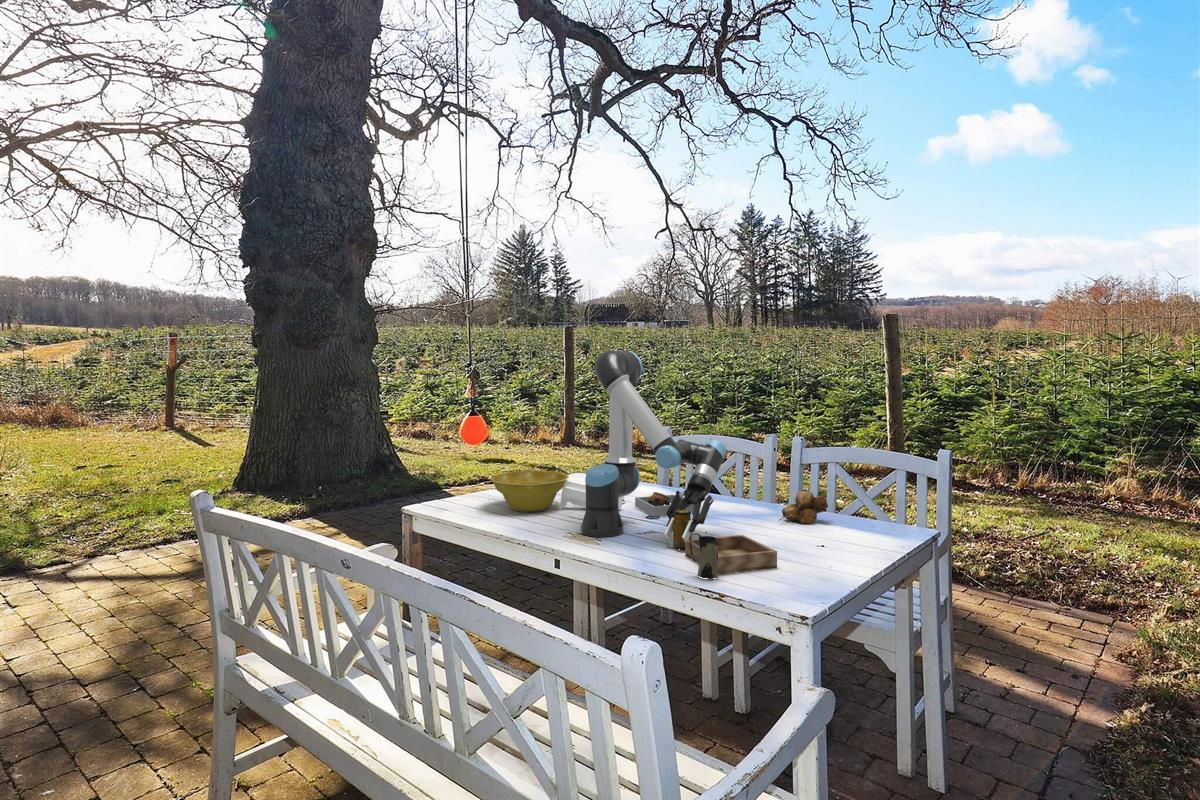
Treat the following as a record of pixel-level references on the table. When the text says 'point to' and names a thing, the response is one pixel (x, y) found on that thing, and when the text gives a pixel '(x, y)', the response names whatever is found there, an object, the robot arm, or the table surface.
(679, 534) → the condiment
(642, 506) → the slate tray rim
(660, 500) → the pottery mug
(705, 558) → the mug
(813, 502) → the seed pod
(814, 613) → the table surface
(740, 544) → the walnut box
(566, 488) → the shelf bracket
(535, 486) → the planter bowl
